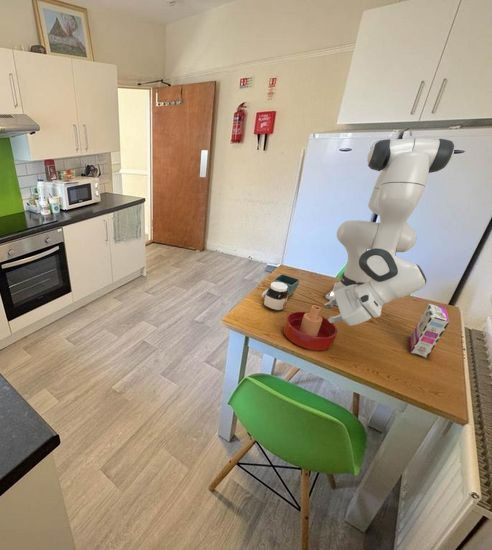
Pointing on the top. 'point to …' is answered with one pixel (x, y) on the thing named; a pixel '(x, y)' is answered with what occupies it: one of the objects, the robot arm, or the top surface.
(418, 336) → the candy bar box
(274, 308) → the spread jar
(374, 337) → the top surface
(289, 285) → the flower pot
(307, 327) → the bottle
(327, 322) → the bowl
